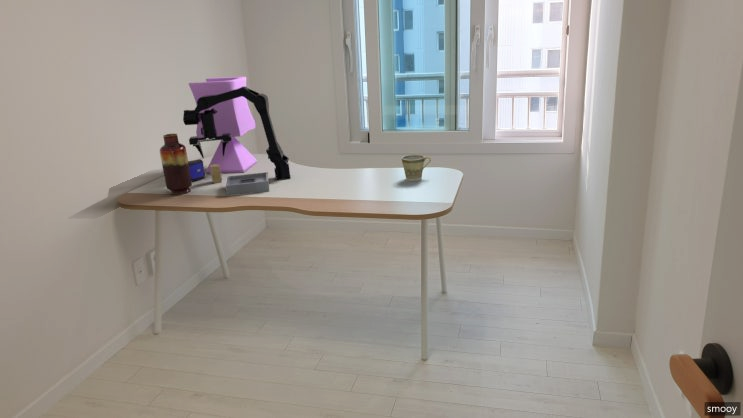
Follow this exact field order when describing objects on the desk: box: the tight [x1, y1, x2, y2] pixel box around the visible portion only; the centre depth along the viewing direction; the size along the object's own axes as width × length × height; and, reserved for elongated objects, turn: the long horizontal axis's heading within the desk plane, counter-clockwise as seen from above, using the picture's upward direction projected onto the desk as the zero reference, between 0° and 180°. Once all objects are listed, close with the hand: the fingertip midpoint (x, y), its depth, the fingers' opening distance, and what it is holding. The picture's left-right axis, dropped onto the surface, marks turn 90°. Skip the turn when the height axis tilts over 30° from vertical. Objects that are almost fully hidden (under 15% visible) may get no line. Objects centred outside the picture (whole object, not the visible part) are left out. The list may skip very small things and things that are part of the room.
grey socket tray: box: [225, 172, 270, 197], centre depth 244 cm, size 18×16×4 cm
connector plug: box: [210, 164, 223, 184], centre depth 258 cm, size 4×4×8 cm
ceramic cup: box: [401, 154, 431, 182], centre depth 242 cm, size 13×10×10 cm
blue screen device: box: [188, 159, 206, 183], centre depth 262 cm, size 16×5×9 cm, turn 123°
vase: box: [159, 133, 193, 196], centre depth 242 cm, size 11×11×26 cm
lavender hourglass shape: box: [188, 76, 258, 174], centre depth 276 cm, size 22×22×45 cm
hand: (213, 157), depth 255 cm, fingers open, 9 cm apart
